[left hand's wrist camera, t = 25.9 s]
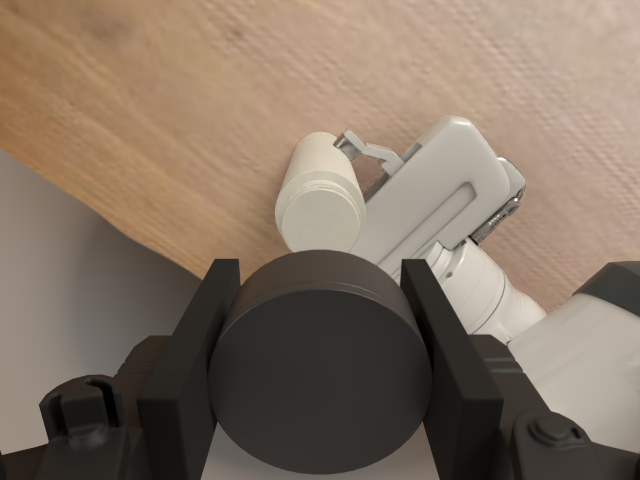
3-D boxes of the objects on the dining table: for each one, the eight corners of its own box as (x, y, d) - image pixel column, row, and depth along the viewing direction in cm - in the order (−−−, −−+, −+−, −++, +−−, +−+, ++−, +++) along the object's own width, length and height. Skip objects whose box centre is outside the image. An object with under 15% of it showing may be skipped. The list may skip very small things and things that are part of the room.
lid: (291, 210, 11) (284, 243, 9) (452, 312, 12) (481, 364, 10) (192, 357, 13) (166, 415, 11) (343, 437, 14) (348, 504, 12)
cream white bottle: (345, 189, 40) (364, 275, 23) (291, 185, 40) (268, 269, 23) (350, 134, 39) (375, 182, 21) (294, 129, 38) (272, 174, 21)
